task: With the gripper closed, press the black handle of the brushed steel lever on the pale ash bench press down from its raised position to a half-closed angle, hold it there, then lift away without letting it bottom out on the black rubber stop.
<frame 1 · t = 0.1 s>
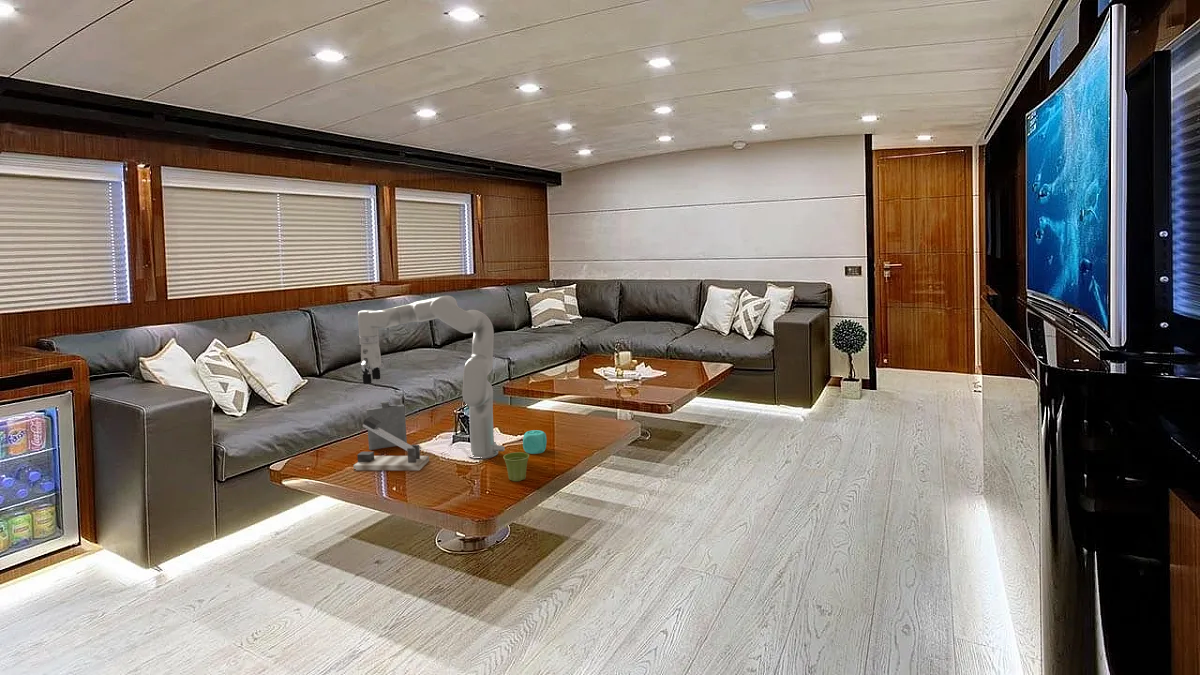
hand: (372, 381, 273), 31 cm above the table, tool pointing down, fingers open, 9 cm apart
plant pot: (517, 479, 244), on the table
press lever: (390, 435, 261), point 12 cm above the table, hinge at 30.0°
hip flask: (388, 446, 290), on the table
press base: (392, 465, 263), on the table
decorative dice: (535, 451, 278), on the table
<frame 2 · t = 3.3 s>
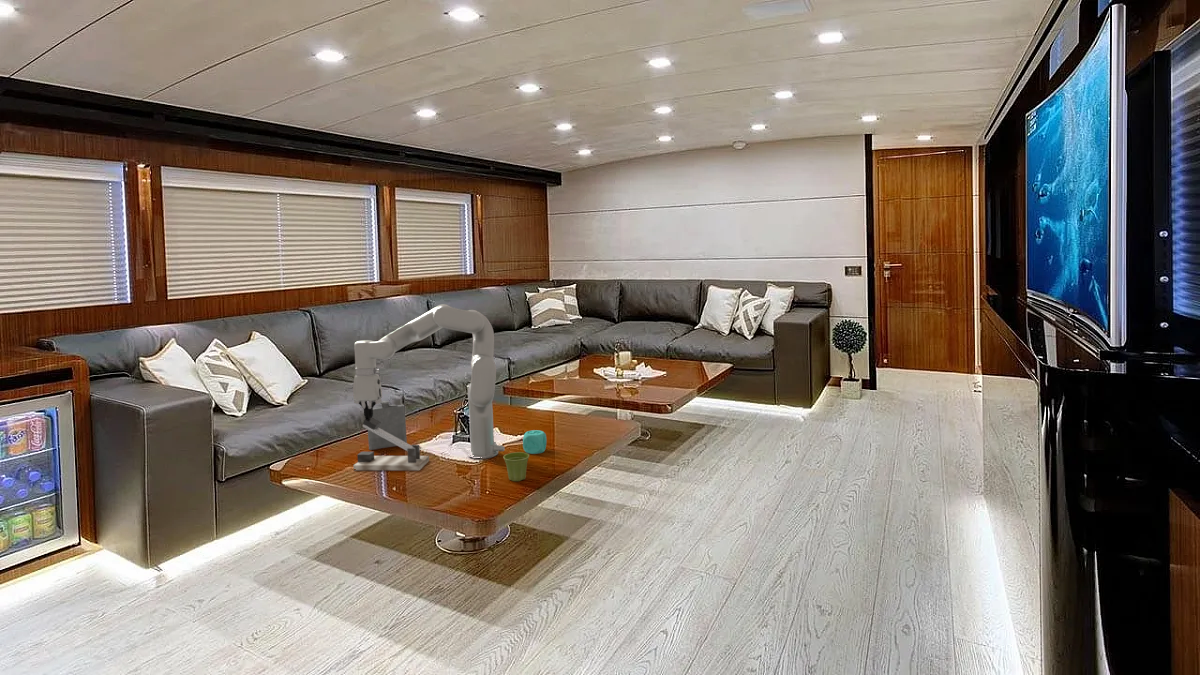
hand: (368, 417, 261), 19 cm above the table, tool pointing down, fingers closed
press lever: (390, 435, 261), point 12 cm above the table, hinge at 29.8°, touching gripper
everything else where it was.
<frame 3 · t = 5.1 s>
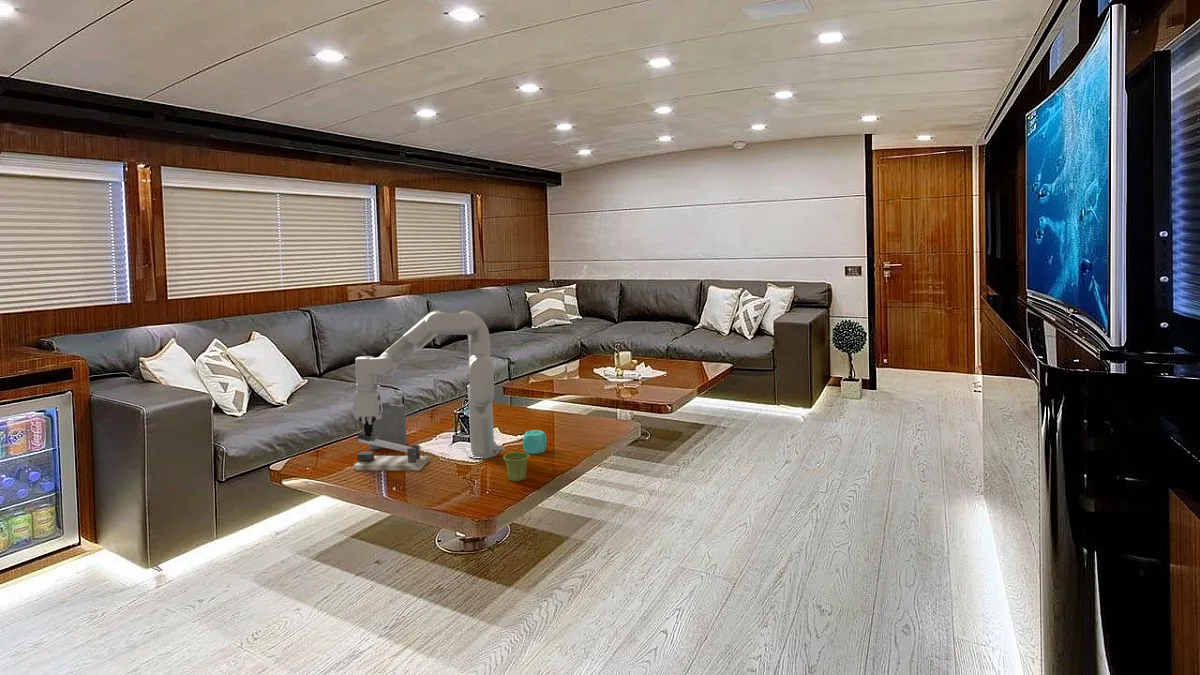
hand: (368, 433, 262), 13 cm above the table, tool pointing down, fingers closed
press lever: (387, 442, 262), point 9 cm above the table, hinge at 12.9°, touching gripper
everything else where it was.
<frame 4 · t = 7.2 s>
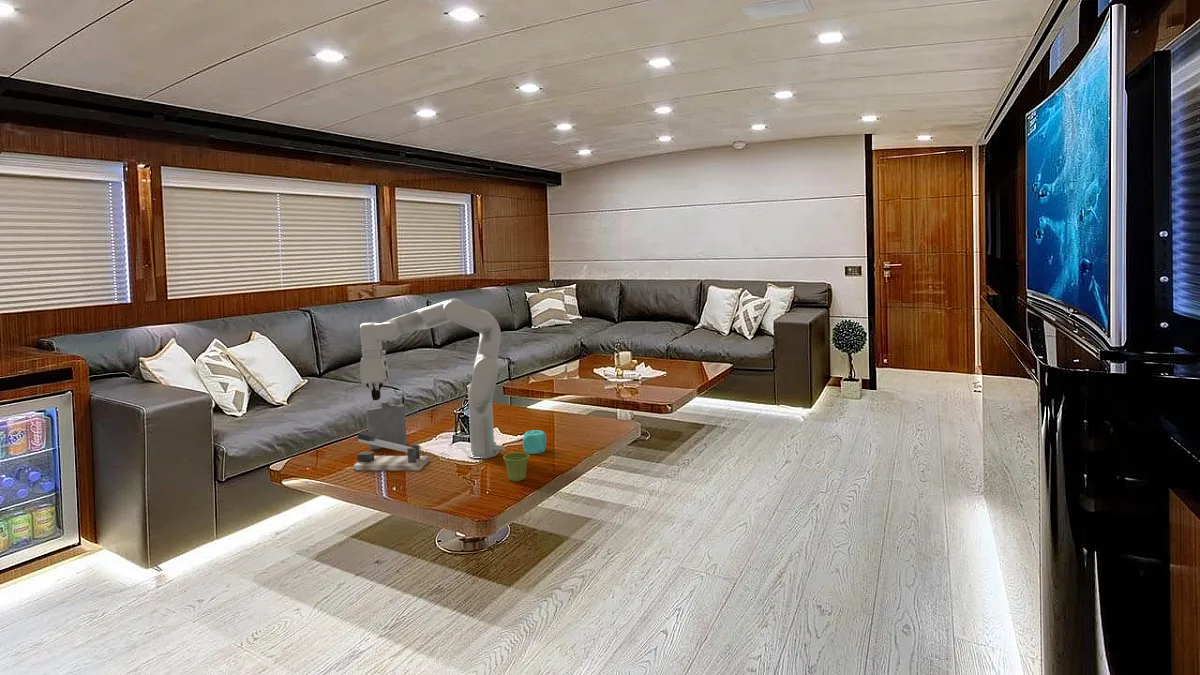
hand: (376, 399, 263), 26 cm above the table, tool pointing down, fingers closed
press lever: (387, 442, 262), point 9 cm above the table, hinge at 12.9°
everything else where it was.
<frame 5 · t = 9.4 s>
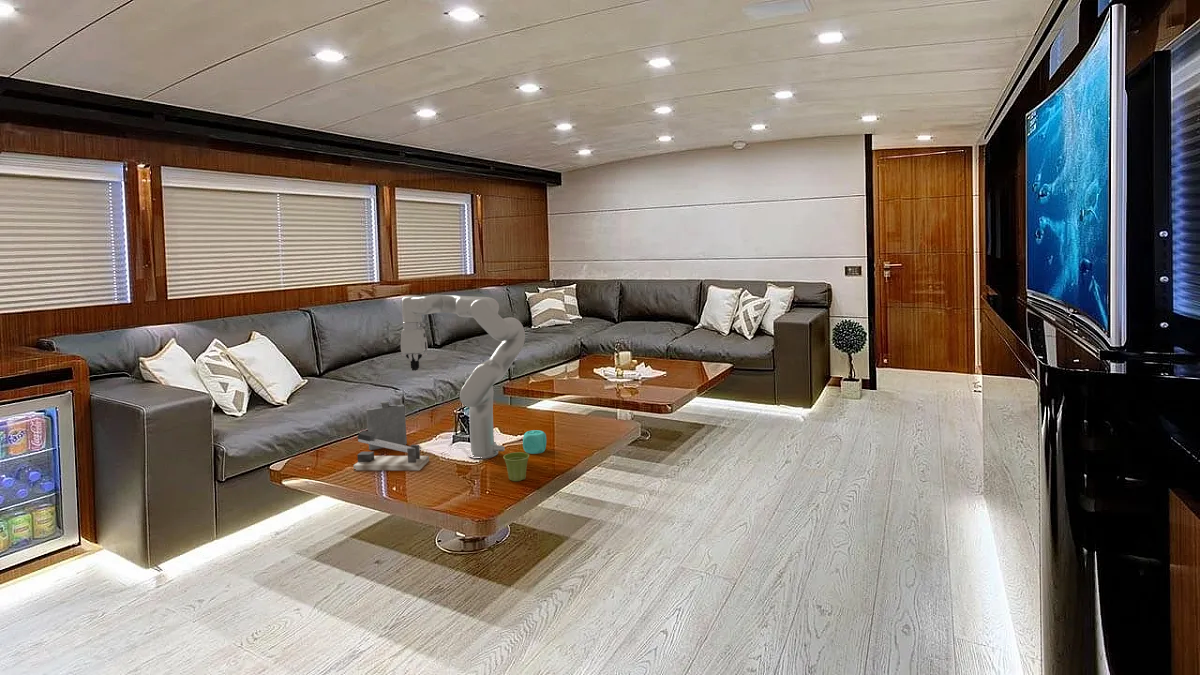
hand: (415, 369, 276), 35 cm above the table, tool pointing down, fingers closed
nothing on the table moved.
at the end: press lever at +13° (first picture: +30°); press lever touching nothing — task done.
